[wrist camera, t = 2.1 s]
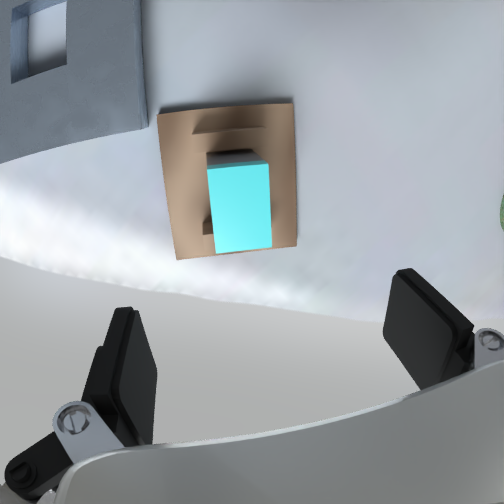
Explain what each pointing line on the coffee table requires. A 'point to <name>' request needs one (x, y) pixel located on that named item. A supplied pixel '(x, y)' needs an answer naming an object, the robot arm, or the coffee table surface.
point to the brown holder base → (217, 140)
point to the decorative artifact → (502, 213)
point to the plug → (239, 200)
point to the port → (71, 77)
